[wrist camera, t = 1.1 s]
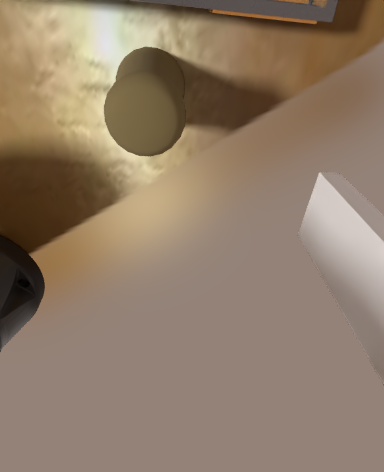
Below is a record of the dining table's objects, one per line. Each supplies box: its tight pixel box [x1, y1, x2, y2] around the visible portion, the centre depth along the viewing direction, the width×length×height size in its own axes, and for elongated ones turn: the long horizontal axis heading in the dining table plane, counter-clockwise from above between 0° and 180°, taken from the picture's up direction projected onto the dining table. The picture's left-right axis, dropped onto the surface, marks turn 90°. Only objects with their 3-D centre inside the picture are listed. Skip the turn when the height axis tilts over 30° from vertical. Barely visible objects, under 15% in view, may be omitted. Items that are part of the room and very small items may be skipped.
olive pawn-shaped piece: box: [104, 47, 186, 156], centre depth 24 cm, size 6×6×11 cm
